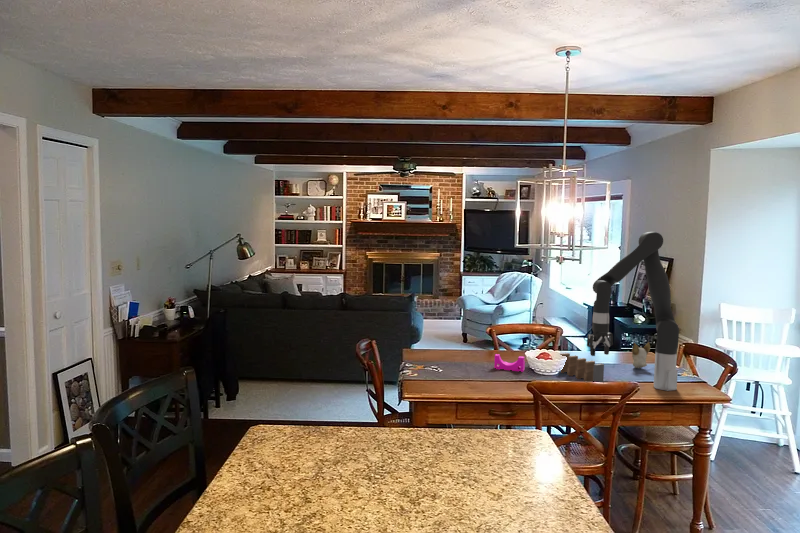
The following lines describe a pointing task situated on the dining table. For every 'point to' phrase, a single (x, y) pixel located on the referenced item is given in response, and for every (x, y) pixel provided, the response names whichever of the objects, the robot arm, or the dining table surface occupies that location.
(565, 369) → the walnut domino
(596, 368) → the black domino
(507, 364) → the toy block
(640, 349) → the ceramic sculpture
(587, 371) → the walnut domino
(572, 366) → the walnut domino
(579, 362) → the walnut domino
